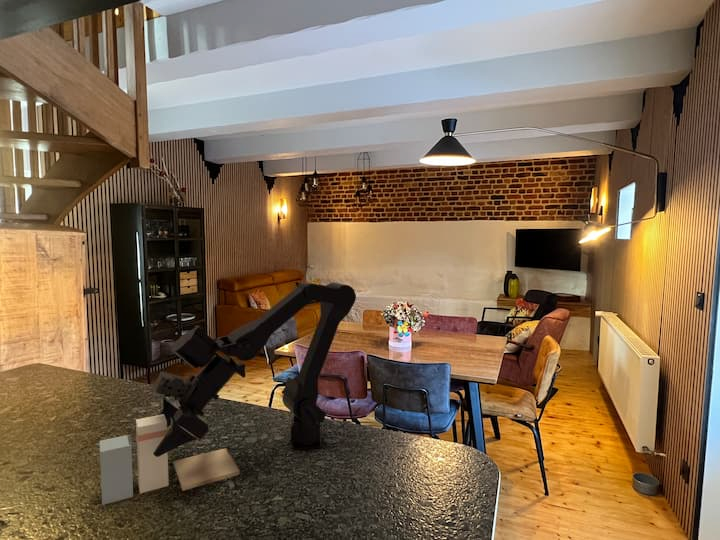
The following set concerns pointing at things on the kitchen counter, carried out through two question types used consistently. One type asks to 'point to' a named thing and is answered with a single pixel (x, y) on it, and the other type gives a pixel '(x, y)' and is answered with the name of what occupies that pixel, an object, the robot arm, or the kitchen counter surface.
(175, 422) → the robot arm
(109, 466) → the ticket block
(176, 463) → the coaster
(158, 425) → the beige upright block
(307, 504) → the kitchen counter surface
